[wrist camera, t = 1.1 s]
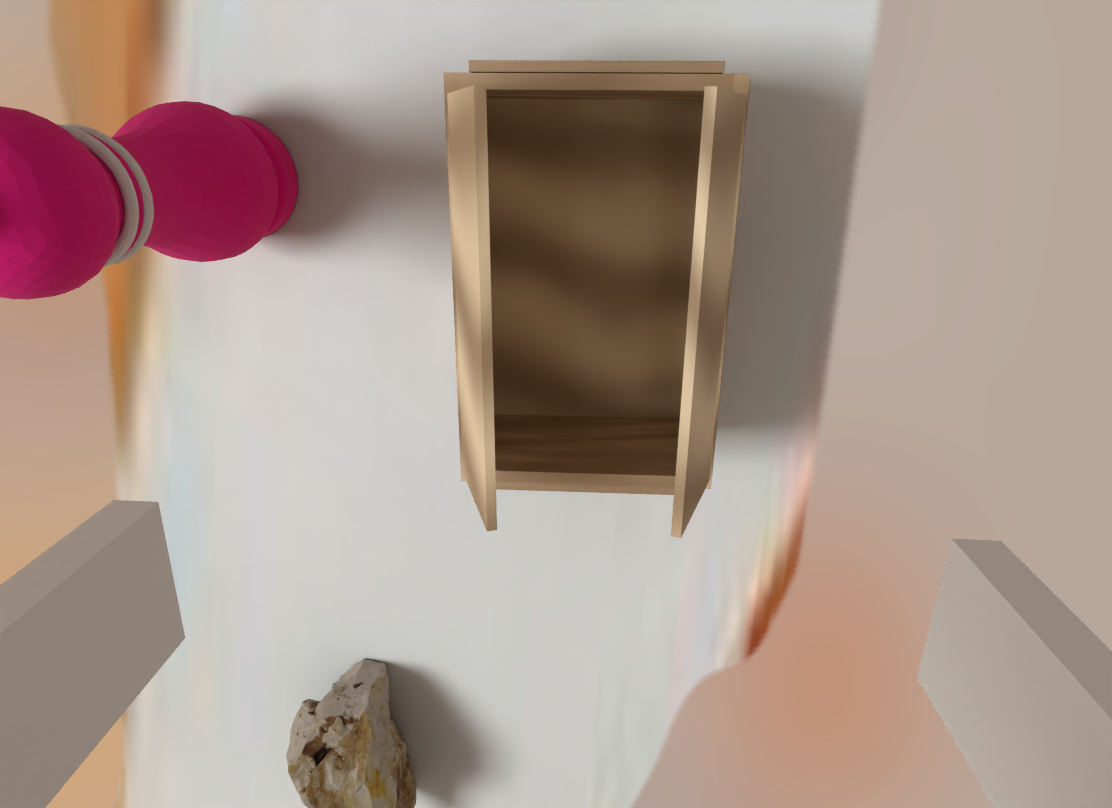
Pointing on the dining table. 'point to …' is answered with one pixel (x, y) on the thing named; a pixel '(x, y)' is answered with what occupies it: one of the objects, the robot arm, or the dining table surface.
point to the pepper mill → (134, 193)
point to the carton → (591, 265)
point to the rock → (351, 746)
